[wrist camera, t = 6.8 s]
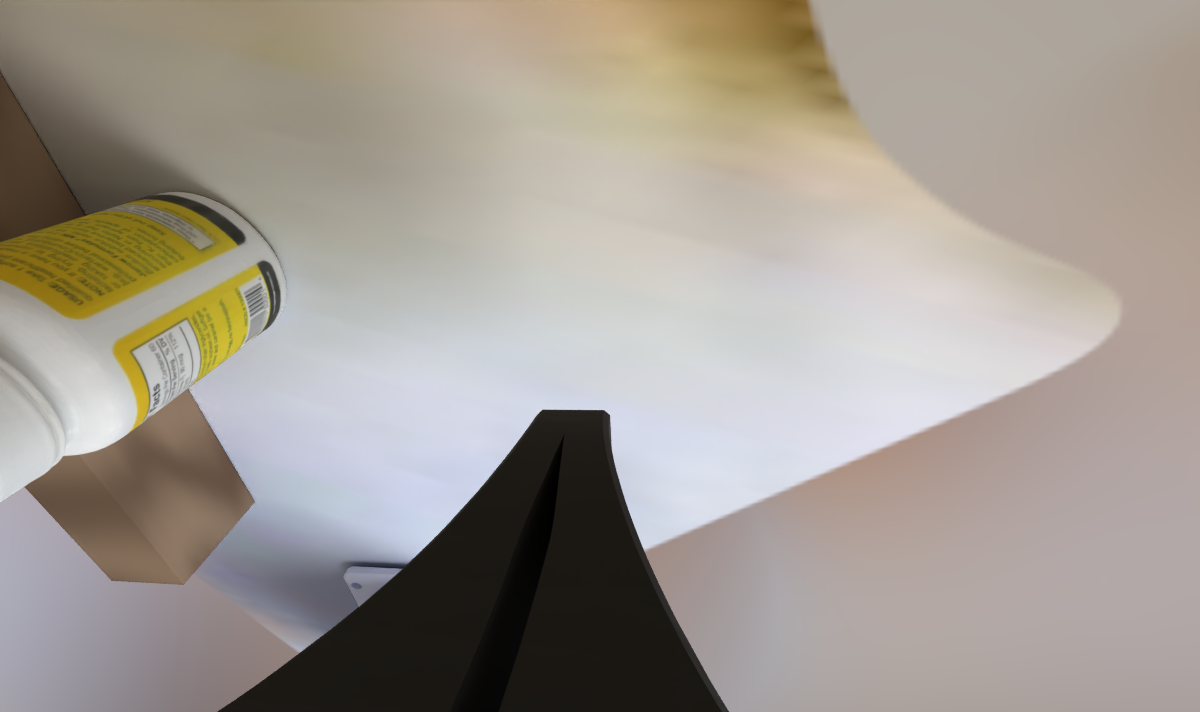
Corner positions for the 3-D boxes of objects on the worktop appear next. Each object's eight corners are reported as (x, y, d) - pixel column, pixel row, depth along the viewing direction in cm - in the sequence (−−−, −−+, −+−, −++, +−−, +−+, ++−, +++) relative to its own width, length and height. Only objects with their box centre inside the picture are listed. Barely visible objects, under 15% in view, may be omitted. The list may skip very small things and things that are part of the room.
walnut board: (254, 501, 22) (183, 584, 19) (192, 499, 22) (111, 580, 19) (-175, -222, 10) (-570, -349, 7) (-293, -208, 11) (-729, -325, 7)
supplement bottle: (106, 216, 15) (-368, 365, 8) (220, 166, 14) (-213, 287, 7) (214, 345, 18) (-82, 548, 10) (321, 310, 16) (70, 512, 9)
